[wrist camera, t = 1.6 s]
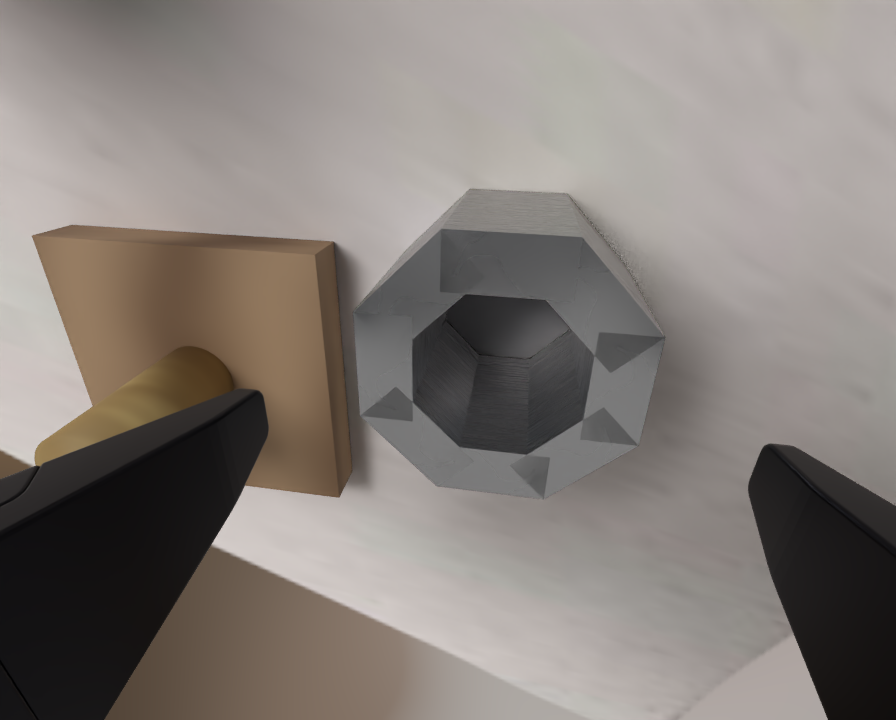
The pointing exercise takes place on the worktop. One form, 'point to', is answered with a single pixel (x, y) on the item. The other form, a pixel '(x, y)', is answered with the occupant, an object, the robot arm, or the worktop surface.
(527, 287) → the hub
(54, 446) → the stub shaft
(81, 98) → the worktop surface
